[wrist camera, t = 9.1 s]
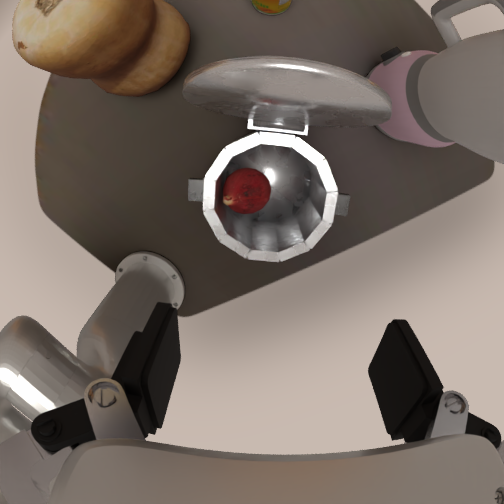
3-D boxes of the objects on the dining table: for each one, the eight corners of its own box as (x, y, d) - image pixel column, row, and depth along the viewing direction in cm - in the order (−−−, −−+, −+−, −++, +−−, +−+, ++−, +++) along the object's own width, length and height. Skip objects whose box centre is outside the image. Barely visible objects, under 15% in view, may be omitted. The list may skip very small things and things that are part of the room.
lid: (433, 114, 12) (433, 83, 11) (150, 76, 12) (156, 43, 11) (348, 140, 27) (350, 122, 27) (204, 124, 27) (206, 106, 27)
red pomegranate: (274, 158, 36) (240, 173, 30) (285, 200, 38) (254, 224, 32) (238, 165, 39) (201, 182, 34) (249, 204, 41) (215, 227, 36)
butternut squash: (218, 52, 33) (160, -29, 10) (147, 116, 36) (24, 126, 14) (159, -1, 28) (71, -80, 6) (95, 60, 32) (-29, 41, 10)
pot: (322, 232, 43) (339, 267, 33) (202, 221, 43) (184, 253, 33) (339, 127, 37) (365, 130, 27) (207, 113, 36) (188, 110, 26)
